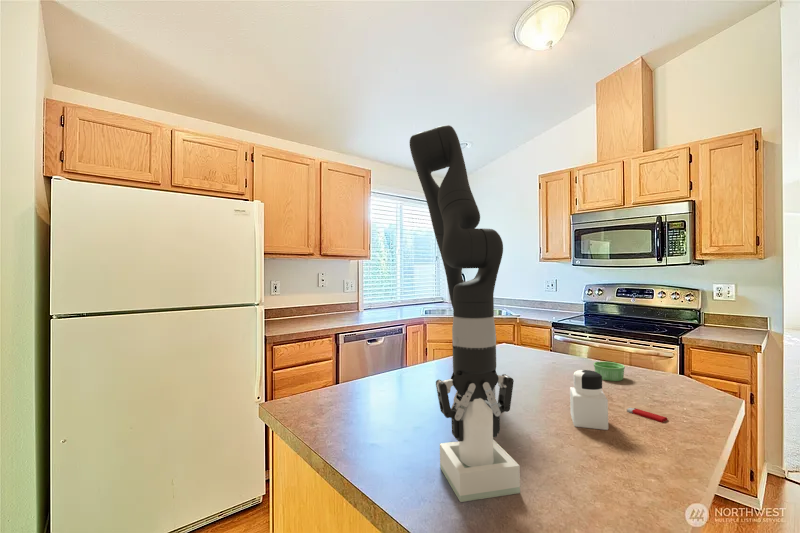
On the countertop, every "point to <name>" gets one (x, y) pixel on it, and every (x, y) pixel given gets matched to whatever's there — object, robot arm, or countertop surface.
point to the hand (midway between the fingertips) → (475, 437)
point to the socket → (480, 474)
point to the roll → (477, 434)
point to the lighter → (647, 414)
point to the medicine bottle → (588, 401)
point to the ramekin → (610, 370)
